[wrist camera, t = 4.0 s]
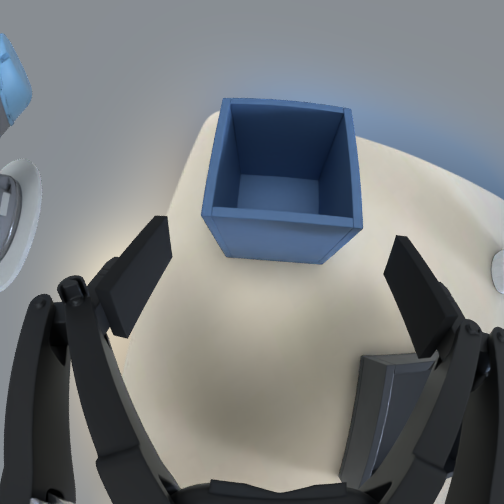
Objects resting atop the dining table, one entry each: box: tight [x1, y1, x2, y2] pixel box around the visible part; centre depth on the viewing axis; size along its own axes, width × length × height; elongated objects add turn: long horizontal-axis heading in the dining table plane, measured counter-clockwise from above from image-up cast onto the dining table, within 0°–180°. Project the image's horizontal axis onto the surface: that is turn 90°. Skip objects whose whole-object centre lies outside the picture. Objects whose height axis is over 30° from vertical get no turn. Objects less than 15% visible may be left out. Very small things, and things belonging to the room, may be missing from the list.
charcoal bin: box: [339, 351, 490, 490], centre depth 18 cm, size 14×14×6 cm
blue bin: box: [201, 98, 363, 264], centre depth 21 cm, size 9×9×11 cm
